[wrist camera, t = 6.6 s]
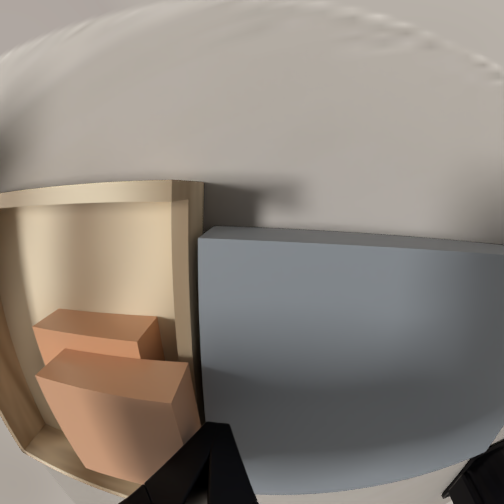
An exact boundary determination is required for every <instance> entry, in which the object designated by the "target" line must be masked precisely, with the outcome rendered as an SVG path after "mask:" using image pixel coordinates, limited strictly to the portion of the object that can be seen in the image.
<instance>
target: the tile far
mask: <svg viewBox="0 0 504 504" xmlns="http://www.w3.org/2000/svg"><path fill="white" fill-rule="evenodd" d="M32 328H33V331H34V334H35V337H36V340H37V343H38V346H39V349H40V352H41V355H42V358H43V361H44V363H45V366H46V365H47V364H48V363H49V362H50V361H51V360H52V359H53V358H54V357H56V356H57V355H58V354H59V353H60V352H61V351H62V350H63V349H65V348H66V349H72V350H77V351H83V352H90V353H96V354H103V355H111V356H119V357H127V358H136V359H147V360H158V361H165V357H164V352H163V347H162V341H161V335H160V330H159V324H158V318H157V316H142V315H126V314H112V313H100V312H89V311H78V310H69V309H60V308H59V309H57V310H56V311H54V312H53V313H51V314H50V315H48V316H47V317H45V318H44V319H42V320H41V321H39V322H38V323H37V324H35V325H34V326H32Z"/></svg>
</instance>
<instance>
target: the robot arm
mask: <svg viewBox="0 0 504 504" xmlns="http://www.w3.org/2000/svg"><path fill="white" fill-rule="evenodd" d="M449 496H450V497H451V499H452V501H453V504H504V441H503V442H501V443H499V444H497V445H494V446H492V447H490V448H488V449H487V450H486V452H484V453H481V454H479V455H477V456H474V457H472V458H471V460H470V461H469V462H468V464H467V465H466V466H465V467H464V469H463V470H462V471H461V473H460V474H459V475H458V476H457V477H456V479H455V480H454V481H453V482H452V483H451V485H450V486H449V487H448V488H447V489H446V490H445V491H444V493H443V494H442V498H443V499H444V498H447V497H449ZM119 504H259V503H258V502H257V499H256V496H255V493H254V491H253V488H252V486H251V483H250V480H249V478H248V475H247V472H246V469H245V467H244V464H243V461H242V458H241V455H240V453H239V450H238V447H237V444H236V441H235V438H234V435H233V432H232V429H231V426H230V424H228V423H218V422H210V421H207V422H205V423H204V425H203V426H202V427H201V428H200V429H199V430H198V431H197V432H196V433H195V434H194V435H193V436H192V437H191V438H190V439H189V440H188V441H187V442H186V443H185V444H184V445H183V446H182V447H181V448H180V449H179V450H178V451H177V452H176V453H175V454H174V455H173V456H172V457H171V458H170V459H169V460H168V461H167V462H166V463H165V464H164V465H163V466H162V467H161V468H160V469H158V470H157V471H156V472H155V473H154V474H153V475H152V476H151V477H150V478H149V479H148V480H147V481H146V482H144V484H142V485H141V486H140V487H139V488H138V489H137V490H135V491H134V492H133V493H132V494H131V495H129V496H128V497H127V498H126V499H124V500H123V501H122V502H120V503H119Z"/></svg>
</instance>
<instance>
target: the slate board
mask: <svg viewBox="0 0 504 504" xmlns="http://www.w3.org/2000/svg"><path fill="white" fill-rule="evenodd" d="M198 292H199V324H200V347H201V365H202V381H203V395H204V408H205V420H206V422H207V421H210V422H218V423H228V424H230V426H231V429H232V432H233V435H234V438H235V441H236V444H237V447H238V450H239V453H240V455H241V458H242V461H243V464H244V467H245V469H246V472H247V475H248V478H249V480H250V483H251V486H252V488H253V491H254V493H255V494H261V495H297V494H316V493H328V492H338V491H346V490H354V489H360V488H367V487H372V486H378V485H383V484H388V483H392V482H397V481H401V480H405V479H409V478H413V477H416V476H420V475H423V474H427V473H430V472H433V471H436V470H440V469H443V468H445V467H448V466H451V465H454V464H457V463H459V462H462V461H464V460H467V459H469V458H472V457H474V456H477V455H479V454H481V453H484V452H486V450H487V449H488V448H489V446H490V445H491V443H492V442H493V440H494V439H495V437H496V436H497V434H498V433H499V431H500V430H501V428H502V427H503V425H504V245H498V244H489V243H478V242H468V241H457V240H446V239H434V238H422V237H409V236H396V235H382V234H368V233H352V232H336V231H319V230H300V229H280V228H258V227H233V226H214V227H212V228H211V229H209V230H208V231H207V232H205V233H204V234H203V235H201V236H200V237H199V238H198Z"/></svg>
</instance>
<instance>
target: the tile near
mask: <svg viewBox="0 0 504 504" xmlns="http://www.w3.org/2000/svg"><path fill="white" fill-rule="evenodd" d="M35 376H36V379H37V381H38V383H39V386H40V388H41V390H42V392H43V394H44V396H45V398H46V400H47V403H48V405H49V407H50V409H51V410H52V412H53V414H54V416H55V418H56V420H57V422H58V424H59V425H60V427H61V429H62V431H63V432H64V434H65V436H66V438H67V439H68V441H69V443H70V444H71V446H72V447H73V449H74V451H75V452H76V454H77V455H78V457H79V458H80V460H81V461H82V463H83V464H84V466H85V467H86V468H87V469H90V470H93V471H96V472H99V473H102V474H106V475H109V476H112V477H116V478H119V479H123V480H127V481H130V482H134V483H138V484H144V482H146V481H147V480H148V479H149V478H150V477H151V476H152V475H153V474H154V473H155V472H156V471H157V470H158V469H160V468H161V467H162V466H163V465H164V464H165V463H166V462H167V461H168V460H169V459H170V458H171V457H172V456H173V455H174V454H175V453H176V452H177V451H178V450H179V449H180V448H181V447H182V446H183V445H184V444H185V443H186V442H187V441H188V440H189V439H190V438H191V437H192V436H193V435H194V434H195V433H196V432H197V431H198V430H199V429H200V428H201V423H200V418H199V413H198V409H197V404H196V399H195V394H194V389H193V384H192V379H191V373H190V368H189V363H188V362H171V361H158V360H147V359H136V358H127V357H119V356H111V355H103V354H96V353H90V352H83V351H77V350H72V349H66V348H65V349H63V350H62V351H61V352H60V353H59V354H58V355H57V356H56V357H54V358H53V359H52V360H51V361H50V362H49V363H48V364H47V365H46V366H45V367H43V368H42V369H41V370H40V371H39V372H38V373H37V374H36V375H35Z"/></svg>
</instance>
